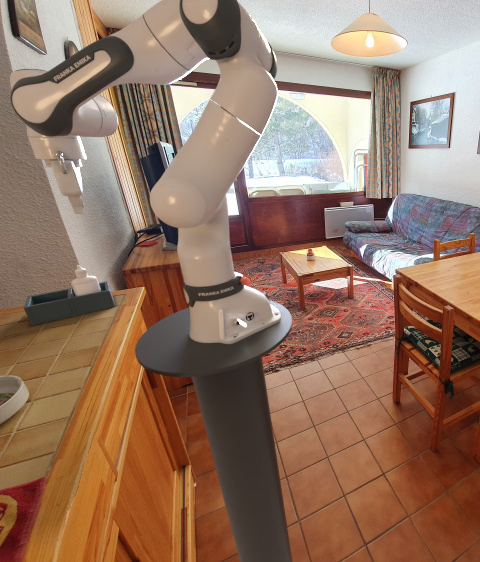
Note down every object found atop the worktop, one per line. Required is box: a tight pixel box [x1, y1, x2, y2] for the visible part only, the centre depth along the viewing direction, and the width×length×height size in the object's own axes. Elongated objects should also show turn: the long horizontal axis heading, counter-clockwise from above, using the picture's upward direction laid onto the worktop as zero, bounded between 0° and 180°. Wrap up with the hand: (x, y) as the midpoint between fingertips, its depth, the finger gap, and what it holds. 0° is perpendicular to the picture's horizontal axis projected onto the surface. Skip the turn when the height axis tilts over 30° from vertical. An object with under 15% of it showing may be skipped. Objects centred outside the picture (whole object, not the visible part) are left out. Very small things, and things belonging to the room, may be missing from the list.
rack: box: [23, 281, 116, 326], centre depth 89 cm, size 17×9×5 cm, turn 131°
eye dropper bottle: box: [70, 264, 101, 296], centre depth 90 cm, size 4×6×12 cm
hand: (80, 210), depth 78 cm, fingers open, 8 cm apart
